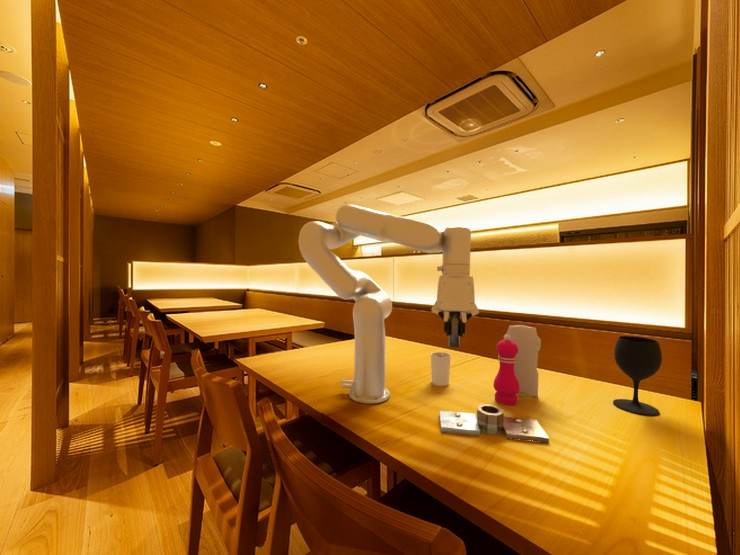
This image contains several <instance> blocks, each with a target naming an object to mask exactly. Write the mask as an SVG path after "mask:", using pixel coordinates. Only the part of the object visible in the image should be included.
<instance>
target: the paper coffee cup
mask: <svg viewBox="0 0 740 555" xmlns="http://www.w3.org/2000/svg"><path fill="white" fill-rule="evenodd" d="M451 357H452V356H451V354H450V352H445V351H433V352H431V353H430V363H431V364H430V366H431V367H430V368H431V370H430V371H431V383H432V385H434V386H437V387H438V386H439V387H445V386H449V384H450V373H451V372H450V368H451Z"/></svg>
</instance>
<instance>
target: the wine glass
mask: <svg viewBox="0 0 740 555" xmlns="http://www.w3.org/2000/svg"><path fill="white" fill-rule="evenodd" d="M660 345H661V344H660V342H659V341H658V340H656V339H652V338H649V337H648V338H647V337H641V336H632V335H619V336H618V338H617V340H616V342H615V346H614V354H613V355H614V360H615V361H614V362H615V363H616V365H617V366H618V368H619V369H620V370H621V372H623V373H624V374H625V375H626V376H627V377H629V378H630V379H631V380H632V382H633V383H632V384H633V395H632V396H633V398H632V399H627V398H626V399H625V398H617V399H616V398H615V399H613V400H612V403H613V406H615V407H616V408H618V409H620V410H622V411H625V412H628V413H631V414H634V415H635V414H636V415H639V416H646V417H655V416H659V415H660V410H659V409H658V408H656V407H655V406H653V405H650V404H648V403H646V402H641V401H640V400H639V386H640V382H641V381H644V380H646V379H648V378H651V377H652V376H654V375H656V373H657V372H658V371H659V370H660V368H661V365H662V362H663V354H662V348H661V346H660Z"/></svg>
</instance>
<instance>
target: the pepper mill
mask: <svg viewBox="0 0 740 555" xmlns="http://www.w3.org/2000/svg"><path fill="white" fill-rule="evenodd" d="M504 335H505V334H504ZM504 339H505V340H504ZM510 339H511V337H510V336H509V335H505V337H504V336H503V339H502V340H500V341H498V343H497V344H496V347H495V348H496V352H497V354H498V355H497V357H498V358H497V360H498V361H499V368H498V371H497V374H496V375H495V378H494V380H493V388H494V390H495V391H496V392H494V401H496V402H498V404H500V405H501V404H502V405H506V406H513V405H517V404H518V395H517V393H518V392H519V390H520V388H519V382H518V380H517V378H516V376H515V372H514V363H515V362H516V357H515V356H516V355H517V353H518V346H517V344H516V343H515V342H513V341H511V340H510Z"/></svg>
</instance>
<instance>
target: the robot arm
mask: <svg viewBox="0 0 740 555" xmlns="http://www.w3.org/2000/svg"><path fill="white" fill-rule="evenodd" d="M360 236H362V237H365V238H369V239H373V240H376V241H378V242H383V243H394V244H397V245H402V246H404V247H408V248H410V249H415V250H418V251H420V252H424V253H426V254H436V253H437V254H438V253H442V265H440V266H437V267H436V271H437V272H441V275H439V277H438V283H437V291H436V301H435V302H434V304H433V305H432V308H431V312H432V313H434V314H436V315H438V317H439V318H441V319H442V320H443V322H444V323H443V332H444V333H445V334H446V336H447V337H449V332H450V322H449V311H455V312H460V338H463V336H464V334H466V323H467V321H469V320H470V318H472V317H474V316H477V315H478V314H479V313H480V310H479V308H478V306H477V305H476V297H475V294H476V293H475V281H474V276H472V275H471V249H472V248H471V245H472V244H471V243H472V238H471V237H472V231H471V229H470V228H469V227H467V226H465V225H464V226H463V225H462V226H461V225H460V226H459V225H454V226H449V227H446V228H444V229H443V228H442V229H440V228H438V227H437V226H435V225H433V224H432V223H429V222H424V221H420V220H416V219H412V218H408V217H404V216H399V215H395V214H391V213H388V212H383V211H379V210H375V209H371V208H368V207H364V206H360V205H356V204H350V203H349V204H348V203H347V204H344V205H342V206H341V205H340V207H339V208H338V209H337V211H336V213H335V222H333V223H331V224H330V223H326V222H323V221H318V220H312V221H308V222H307V223H305V224H304V225H302V227H301V229H300V231H299V235H298V248H299V252H300V255H301V256H302V258H303V259H304V261H305V262H306V263H307V264H308V266H309V267H310V268H311V269H312V270H313V271H314V272H315V273H316V274H317V275H318V276H319V278H321V280H322V281H323V282H324V283H325V284H326V285H327V286H328V287H329V288H330V289H331V290H332V291H333V292H334V294H336V295H337V296H338V297H339V298H341V299H343V300H352V299H353V300H354V301H355V302H354V304H353V307H352V320H353V330H354V364H353V366H354V376H353V378H354V379H353V378H352V379H349V380H348V379H341V382H340V384H341V385H340V386H342V389H349V392H348V396H349V398H350V399H351V400H353V401H354V402H357V403H360V404H368V405H369V404H379V403H384V402H385V401H388V399H389V398H390V395H391V392H390V390H389V388H387V387H386V327H385V319H387V318H388V317H389V316H390V315H391V313H392V310H393V302H392V299H391V298H390V297H389V295H388V294H387V293H386V292H385V291H384V289H382V288H381V287H380V286H379V285H378V284H377V283H376V282H375V280H373V279H372V278H371V277H370V276H369V275H368V274H367V273H366V272H364V271H361V270H358V269H352V268H349V266H348V265H347V264H345V262H344V261H342V260H341V258H340V257H339V256H338V255H337V254H335V253H334V252H333V251H331V250H335V249H337V248H340V247H342V246H344V245H345V244H348V243H349V242H351V241H353V240H354V239H356V238H358V237H360ZM442 311H443V312H442Z"/></svg>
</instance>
